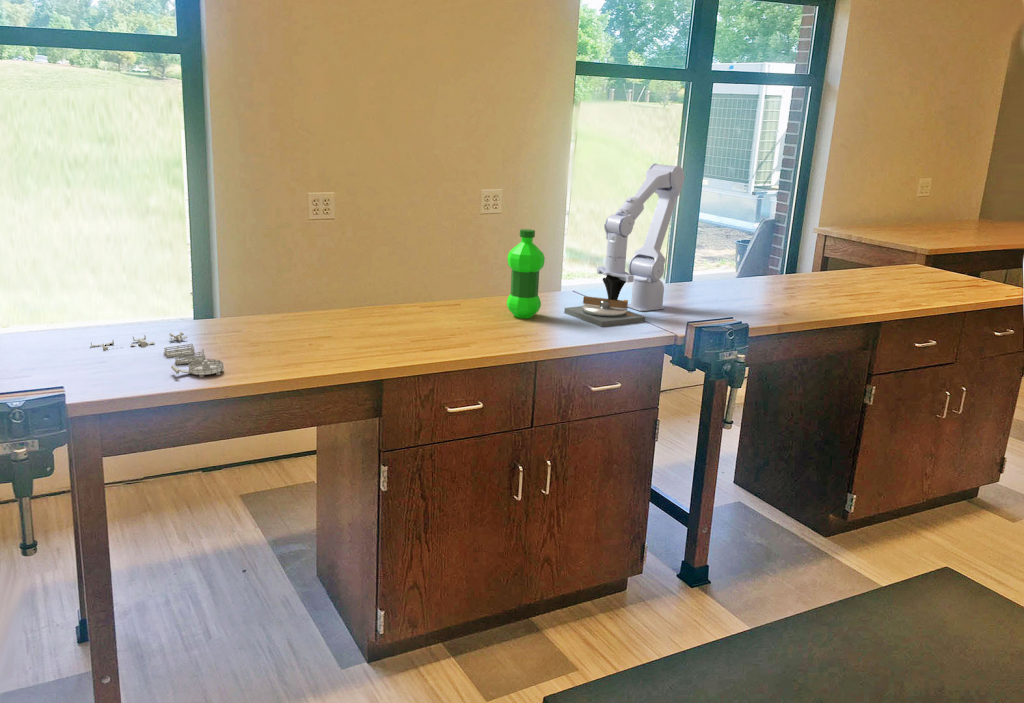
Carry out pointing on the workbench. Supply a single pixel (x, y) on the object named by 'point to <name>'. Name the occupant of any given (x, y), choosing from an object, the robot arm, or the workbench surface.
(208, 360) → the drone parts
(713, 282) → the workbench surface
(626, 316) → the stand plate
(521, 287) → the plastic bottle
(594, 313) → the dial
